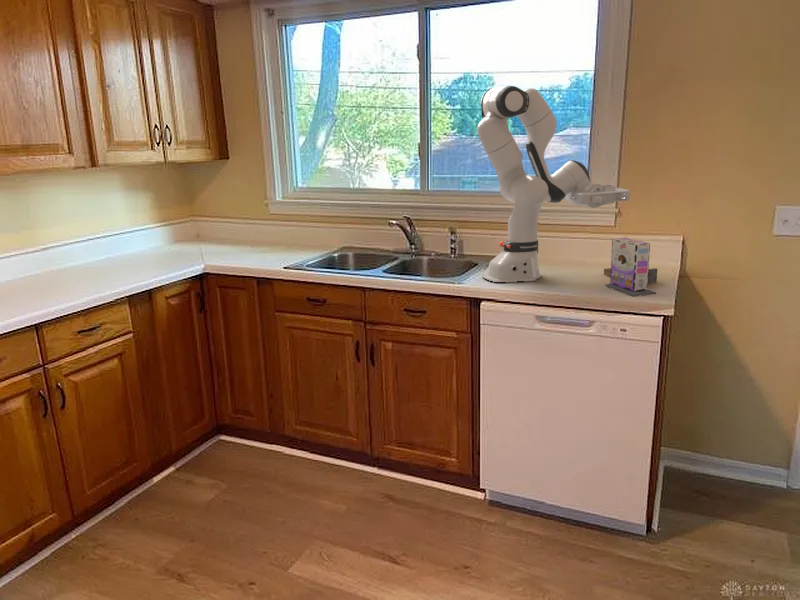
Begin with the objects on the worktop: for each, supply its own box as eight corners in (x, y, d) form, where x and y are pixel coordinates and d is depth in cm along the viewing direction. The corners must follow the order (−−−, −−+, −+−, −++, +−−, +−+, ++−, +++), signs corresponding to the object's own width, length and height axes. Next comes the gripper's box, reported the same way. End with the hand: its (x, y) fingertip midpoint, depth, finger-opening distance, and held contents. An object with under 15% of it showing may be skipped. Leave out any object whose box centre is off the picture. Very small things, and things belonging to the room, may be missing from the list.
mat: (632, 296, 208) (632, 294, 208) (605, 286, 223) (605, 284, 222) (656, 293, 210) (656, 292, 210) (627, 283, 225) (627, 282, 225)
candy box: (648, 290, 212) (651, 242, 208) (633, 292, 211) (636, 244, 206) (623, 282, 225) (626, 236, 221) (609, 283, 223) (611, 238, 219)
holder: (632, 285, 223) (633, 271, 221) (603, 275, 239) (604, 262, 238) (656, 282, 225) (657, 268, 224) (626, 272, 242) (627, 259, 241)
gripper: (568, 189, 229) (589, 191, 217) (616, 185, 234) (639, 187, 222) (567, 206, 231) (588, 209, 218) (616, 201, 236) (639, 205, 223)
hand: (614, 198), depth 220 cm, fingers open, 8 cm apart
